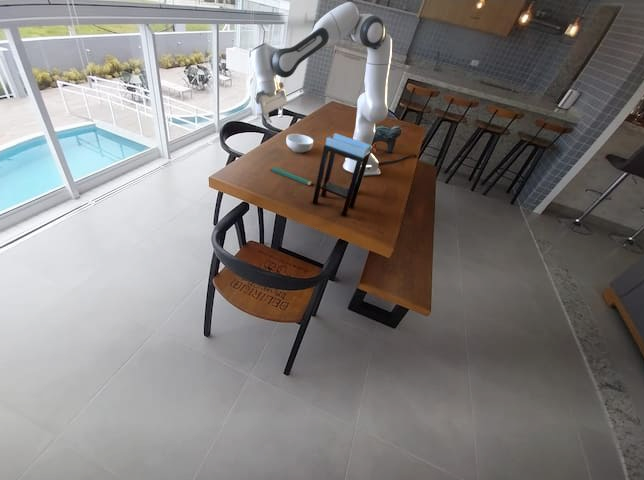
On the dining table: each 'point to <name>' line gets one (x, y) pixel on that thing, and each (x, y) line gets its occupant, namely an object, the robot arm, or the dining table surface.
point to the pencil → (291, 176)
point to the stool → (336, 188)
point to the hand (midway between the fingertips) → (275, 119)
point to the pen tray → (349, 145)
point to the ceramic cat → (387, 135)
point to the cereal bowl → (299, 142)
